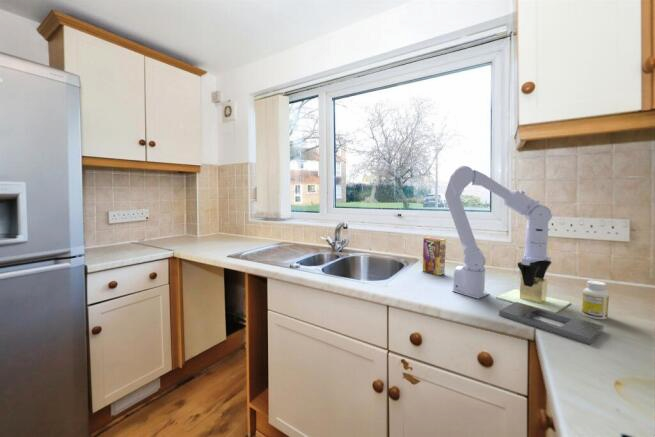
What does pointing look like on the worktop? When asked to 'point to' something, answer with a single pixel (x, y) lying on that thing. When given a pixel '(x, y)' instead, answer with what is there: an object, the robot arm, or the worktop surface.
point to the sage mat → (549, 304)
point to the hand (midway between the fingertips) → (533, 283)
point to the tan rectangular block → (534, 291)
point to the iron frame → (571, 329)
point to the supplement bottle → (595, 300)
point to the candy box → (434, 255)
